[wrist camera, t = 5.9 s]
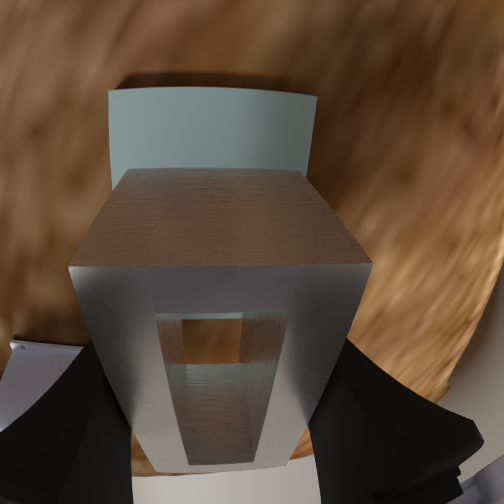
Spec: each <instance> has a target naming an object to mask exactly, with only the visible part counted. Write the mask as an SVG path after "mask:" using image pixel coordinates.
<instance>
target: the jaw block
mask: <svg viewBox="0 0 504 504" xmlns="http://www.w3.org/2000/svg"><path fill="white" fill-rule="evenodd" d="M372 266H373V262H372V261H371V259H370V258H369V256H368V255H367V254H366V252H365V251H364V250H363V248H362V247H361V246H360V244H359V243H358V242H357V241H356V239H355V238H354V237H353V235H352V234H351V233H350V231H349V230H348V229H347V228H346V226H345V225H344V224H343V222H342V221H341V220H340V219H339V217H338V216H337V215H336V214H335V212H334V211H333V210H332V209H331V207H330V206H329V205H328V204H327V203H326V201H325V200H324V199H323V198H322V196H321V195H320V194H319V193H318V192H317V190H316V189H315V188H314V187H313V186H312V184H311V183H310V182H309V181H308V180H307V178H306V177H305V176H304V175H303V174H302V173H301V171H299V170H281V169H258V168H216V167H180V168H138V169H127V170H126V172H125V173H124V175H123V176H122V178H121V179H120V181H119V182H118V184H117V185H116V187H115V188H114V190H113V191H112V193H111V194H110V196H109V197H108V199H107V201H106V202H105V204H104V205H103V207H102V208H101V210H100V212H99V213H98V215H97V217H96V218H95V220H94V221H93V223H92V225H91V227H90V228H89V230H88V232H87V233H86V235H85V237H84V238H83V240H82V242H81V244H80V246H79V247H78V249H77V251H76V253H75V255H74V256H73V258H72V260H71V262H70V264H69V266H68V268H69V272H70V276H71V279H72V283H73V286H74V289H75V293H76V296H77V299H78V302H79V305H80V308H81V311H82V314H83V317H84V320H85V323H86V326H87V328H88V331H89V334H90V337H91V339H92V342H93V345H94V347H95V350H96V352H97V355H98V357H99V360H100V362H101V364H102V367H103V369H104V372H105V374H106V376H107V379H108V381H109V383H110V385H111V388H112V390H113V392H114V394H115V396H116V398H117V400H118V403H119V405H120V407H121V409H122V411H123V413H124V415H125V417H126V419H127V421H128V423H129V425H130V426H131V428H132V430H133V432H134V434H135V436H136V438H137V440H138V441H139V443H140V445H141V447H142V449H143V450H144V452H145V454H146V455H147V457H148V459H149V461H150V462H151V464H152V466H153V467H154V469H155V471H156V472H171V473H203V472H227V471H242V470H252V469H263V468H271V467H279V466H286V464H287V462H288V461H289V459H290V457H291V455H292V453H293V452H294V450H295V448H296V446H297V444H298V442H299V440H300V438H301V436H302V434H303V432H304V431H305V429H306V427H307V425H308V423H309V421H310V419H311V416H312V414H313V412H314V410H315V408H316V406H317V404H318V402H319V400H320V398H321V396H322V393H323V391H324V389H325V387H326V385H327V382H328V380H329V378H330V376H331V373H332V371H333V369H334V366H335V364H336V362H337V359H338V357H339V355H340V352H341V350H342V347H343V345H344V342H345V340H346V338H347V335H348V332H349V330H350V327H351V325H352V322H353V320H354V317H355V314H356V312H357V309H358V306H359V303H360V301H361V298H362V295H363V292H364V289H365V287H366V284H367V281H368V278H369V275H370V272H371V269H372ZM240 312H243V313H242V326H241V338H240V350H239V363H232V364H199V365H186V359H185V350H184V340H183V331H182V320H181V314H194V313H240Z"/></svg>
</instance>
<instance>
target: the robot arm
mask: <svg viewBox="0 0 504 504" xmlns="http://www.w3.org/2000/svg"><path fill="white" fill-rule="evenodd" d="M10 346H11V348H12V350H13V351H12V354H11V356H10V359H9V361H8V363H7V366H6V368H5V371H4V373H3V376H2V378H1V381H0V504H133V493H132V476H131V431H132V428H131V426H130V425H129V423H128V421H127V419H126V417H125V415H124V413H123V411H122V409H121V407H120V405H119V403H118V400H117V398H116V396H115V394H114V392H113V390H112V388H111V385H110V383H109V381H108V379H107V376H106V374H105V372H104V369H103V367H102V364H101V362H100V360H99V357H98V355H97V352H96V350H95V347H94V345H93V342H92V339H91V337H90V339H89V340H88V341H87V343H86V344H85V346H84V347H79V346H67V345H56V344H46V343H37V342H28V341H20V340H11V342H10ZM308 427H309V431H310V436H311V441H312V446H313V451H314V457H315V462H316V468H317V474H318V480H319V488H320V495H321V504H504V455H502V456H501V457H499V458H498V459H496V460H495V461H493V462H492V463H490V464H489V465H487V466H486V467H484V468H483V469H482V470H480V471H479V472H477V473H476V474H475V475H474V476H472V477H471V478H469V479H467V480H466V481H464V482H462V483H459V481H458V479H457V476H459V475H461V471H460V469H459V467H458V466H459V465H460V464H461V463H463V462H464V461H465V460H467V459H468V458H469V457H471V456H472V455H473V454H474V453H475V452H477V451H478V450H479V449H480V448H481V447H482V445H483V444H484V440H483V438H482V436H481V434H480V432H479V430H478V428H477V426H476V425H475V423H474V421H473V420H471V419H468V418H465V417H463V416H461V415H458V414H456V413H453V412H451V411H448V410H446V409H444V408H442V407H440V406H438V405H436V404H434V403H432V402H430V401H429V400H427V399H425V398H423V397H421V396H420V395H418V394H417V393H415V392H413V391H412V390H410V389H409V388H407V387H405V386H404V385H402V384H401V383H400V382H398V381H397V380H395V379H394V378H393V377H391V376H390V375H389V374H387V373H386V372H385V371H383V370H382V369H381V368H379V367H378V366H377V365H376V364H375V363H373V362H372V361H371V360H370V359H369V358H368V357H367V356H365V355H364V354H363V353H362V352H361V351H360V350H359V349H358V348H357V347H356V346H355V345H354V344H353V343H351V342H350V341H349V340H348V339H347V338H346V340H345V342H344V345H343V347H342V350H341V352H340V355H339V357H338V359H337V362H336V364H335V366H334V369H333V371H332V373H331V376H330V378H329V380H328V382H327V385H326V387H325V389H324V391H323V393H322V396H321V398H320V400H319V402H318V404H317V406H316V408H315V410H314V412H313V414H312V416H311V419H310V421H309V423H308Z"/></svg>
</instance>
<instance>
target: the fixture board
mask: <svg viewBox="0 0 504 504" xmlns="http://www.w3.org/2000/svg"><path fill="white" fill-rule="evenodd" d="M316 103H317V96H313V95H307V94H299V93H291V92H282V91H273V90H262V89H249V88H233V87H205V86H169V87H142V88H126V89H114V90H110V91H109V142H110V162H111V176H112V188H113V190H114V188H115V187H116V185H117V184H118V182H119V181H120V179H121V178H122V176H123V175H124V173H125V172H126V170H127V169H138V168H180V167H216V168H258V169H281V170H299V171H301V173H302V174H303V175H304V176H305V177H306V174H307V168H308V161H309V154H310V147H311V140H312V133H313V126H314V119H315V111H316ZM242 313H243V312H240V313H194V314H181V319H230V318H242Z"/></svg>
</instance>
